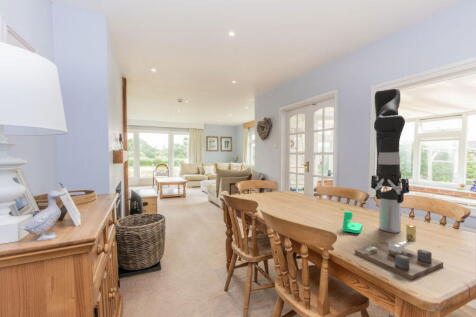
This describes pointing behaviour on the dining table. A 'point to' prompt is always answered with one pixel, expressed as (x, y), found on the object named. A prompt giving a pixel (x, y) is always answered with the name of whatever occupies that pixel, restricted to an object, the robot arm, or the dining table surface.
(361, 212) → the dining table surface
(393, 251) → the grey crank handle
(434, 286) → the dining table surface
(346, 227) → the camera mount
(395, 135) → the robot arm
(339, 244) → the dining table surface
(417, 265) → the base
